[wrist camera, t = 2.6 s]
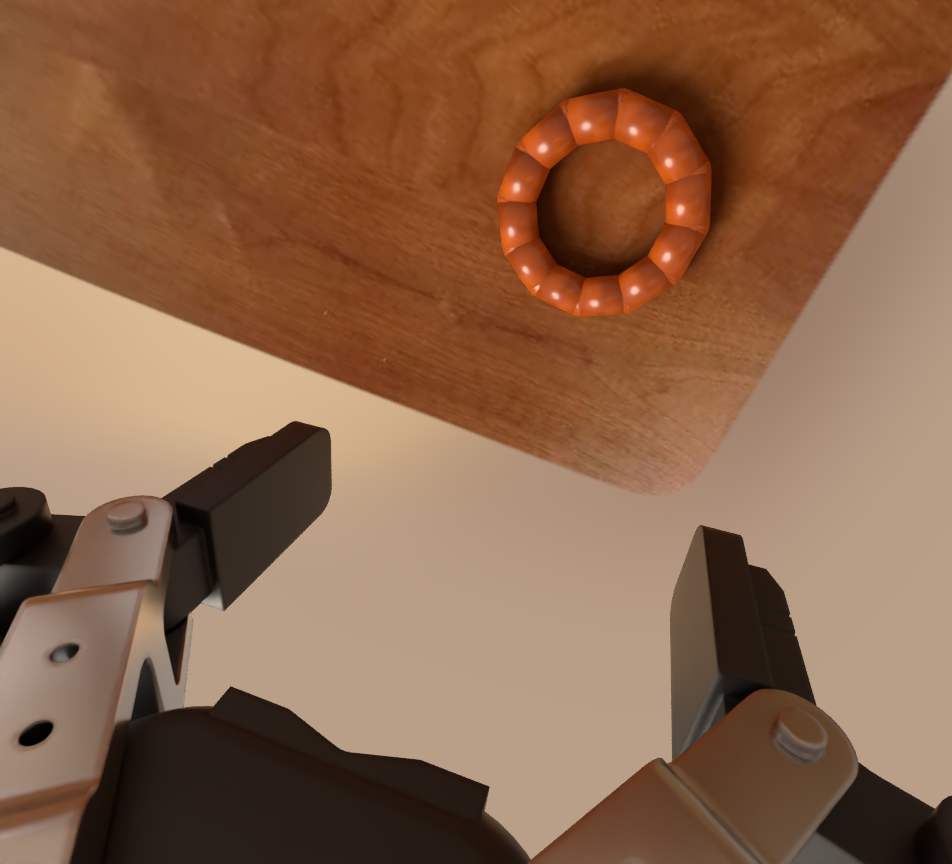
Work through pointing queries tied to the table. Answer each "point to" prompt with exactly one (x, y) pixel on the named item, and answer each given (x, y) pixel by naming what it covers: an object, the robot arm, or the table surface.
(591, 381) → the table surface
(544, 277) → the ring
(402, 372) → the table surface
